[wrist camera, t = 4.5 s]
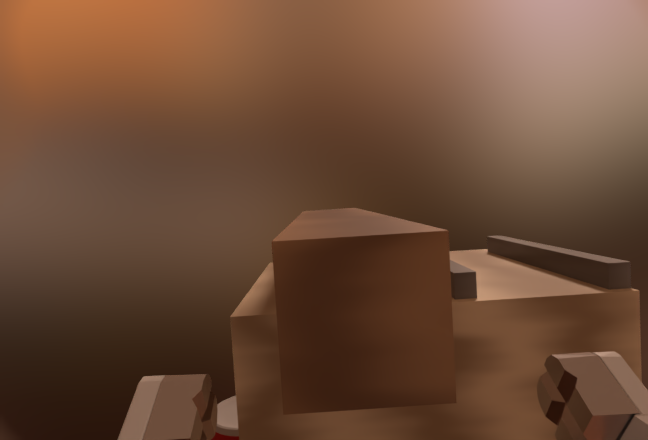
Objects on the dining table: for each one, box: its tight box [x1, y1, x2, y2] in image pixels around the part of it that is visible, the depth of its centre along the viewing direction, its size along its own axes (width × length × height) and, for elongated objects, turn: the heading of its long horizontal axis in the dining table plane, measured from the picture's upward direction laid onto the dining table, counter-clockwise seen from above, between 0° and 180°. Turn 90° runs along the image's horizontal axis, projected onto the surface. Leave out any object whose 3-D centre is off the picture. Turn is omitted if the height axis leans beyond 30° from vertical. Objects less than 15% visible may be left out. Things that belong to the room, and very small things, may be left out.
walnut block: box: [272, 208, 456, 415], centre depth 22 cm, size 4×24×4 cm, turn 1°
